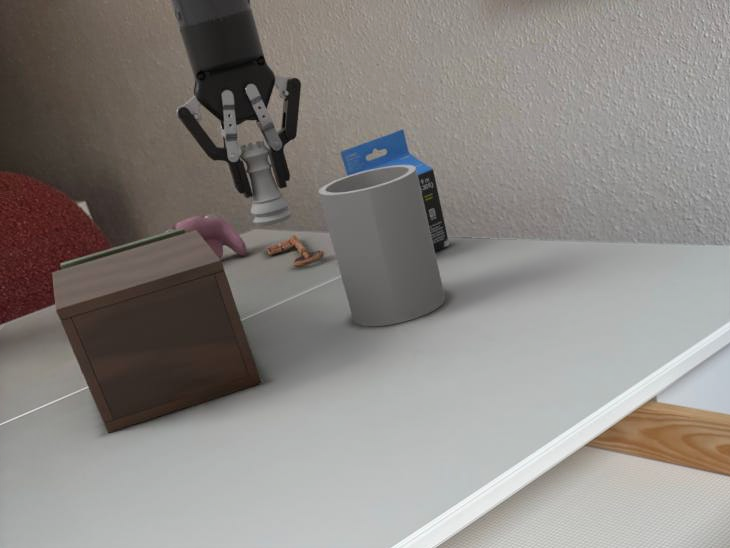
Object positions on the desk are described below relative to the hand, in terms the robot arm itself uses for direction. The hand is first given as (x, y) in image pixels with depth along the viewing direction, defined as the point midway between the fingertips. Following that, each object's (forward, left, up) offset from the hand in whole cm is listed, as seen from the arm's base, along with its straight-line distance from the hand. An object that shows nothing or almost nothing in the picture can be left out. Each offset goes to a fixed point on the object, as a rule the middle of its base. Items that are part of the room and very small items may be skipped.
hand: (265, 191), depth 120 cm
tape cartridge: (+14, 0, -10) cm, 17 cm away
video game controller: (-16, +13, -10) cm, 23 cm away
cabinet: (-2, -30, -10) cm, 31 cm away
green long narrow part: (-8, -20, -9) cm, 23 cm away
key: (-3, +10, -10) cm, 14 cm away
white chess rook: (0, 0, -3) cm, 3 cm away
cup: (+17, -18, -10) cm, 27 cm away
